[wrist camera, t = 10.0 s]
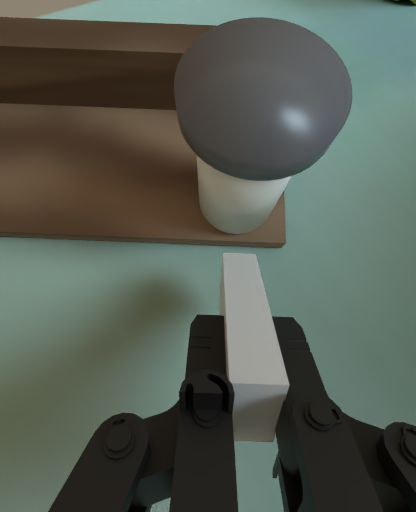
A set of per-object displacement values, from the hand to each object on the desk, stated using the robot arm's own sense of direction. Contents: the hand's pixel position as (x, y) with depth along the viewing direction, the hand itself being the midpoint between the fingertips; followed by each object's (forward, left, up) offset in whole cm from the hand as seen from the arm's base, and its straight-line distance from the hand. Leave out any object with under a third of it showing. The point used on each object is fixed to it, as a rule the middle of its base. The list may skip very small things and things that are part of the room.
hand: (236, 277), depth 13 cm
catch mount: (+12, +4, -4) cm, 13 cm away
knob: (+4, -3, -2) cm, 6 cm away
